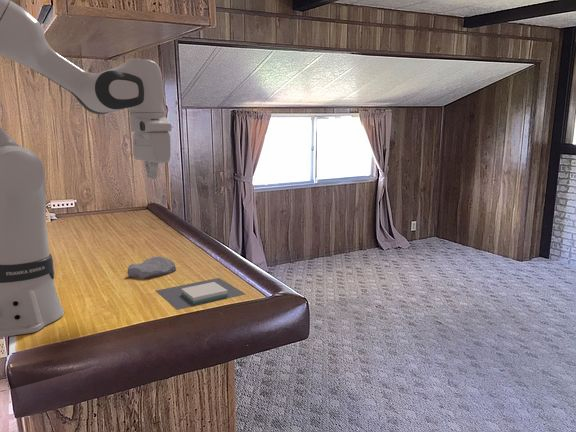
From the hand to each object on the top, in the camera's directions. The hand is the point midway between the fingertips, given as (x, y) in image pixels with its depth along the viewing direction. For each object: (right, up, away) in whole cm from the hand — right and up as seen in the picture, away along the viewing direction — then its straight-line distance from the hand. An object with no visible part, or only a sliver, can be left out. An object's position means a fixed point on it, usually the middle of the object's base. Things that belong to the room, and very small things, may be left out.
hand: (152, 178), depth 124 cm
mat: (+13, -30, -3) cm, 33 cm away
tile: (+12, -28, -2) cm, 31 cm away
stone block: (-4, -27, +15) cm, 32 cm away
